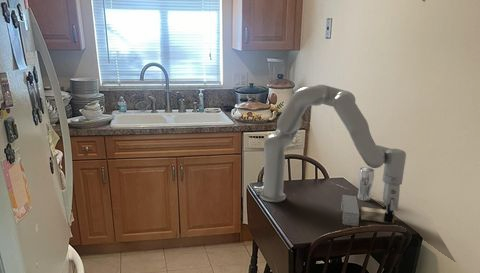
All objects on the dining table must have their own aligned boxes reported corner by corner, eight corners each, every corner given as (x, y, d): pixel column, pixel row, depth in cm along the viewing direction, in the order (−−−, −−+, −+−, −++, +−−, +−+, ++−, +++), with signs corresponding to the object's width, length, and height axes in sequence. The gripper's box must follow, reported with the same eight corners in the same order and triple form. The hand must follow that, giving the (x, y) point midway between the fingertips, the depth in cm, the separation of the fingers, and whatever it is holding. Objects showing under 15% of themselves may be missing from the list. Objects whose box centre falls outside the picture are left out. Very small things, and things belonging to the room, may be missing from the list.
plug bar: (361, 219, 159) (362, 210, 158) (360, 215, 163) (361, 206, 162) (393, 223, 156) (394, 214, 155) (391, 219, 160) (393, 210, 159)
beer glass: (355, 200, 179) (359, 170, 176) (356, 194, 185) (360, 166, 182) (370, 202, 177) (374, 172, 173) (371, 197, 183) (375, 168, 179)
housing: (342, 224, 153) (344, 211, 152) (341, 206, 171) (342, 194, 170) (357, 226, 152) (359, 213, 151) (354, 207, 170) (356, 196, 169)
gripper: (406, 186, 145) (399, 229, 150) (398, 173, 161) (392, 211, 166) (386, 184, 147) (380, 226, 151) (380, 171, 163) (375, 209, 167)
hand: (386, 218), depth 158 cm, fingers open, 5 cm apart
